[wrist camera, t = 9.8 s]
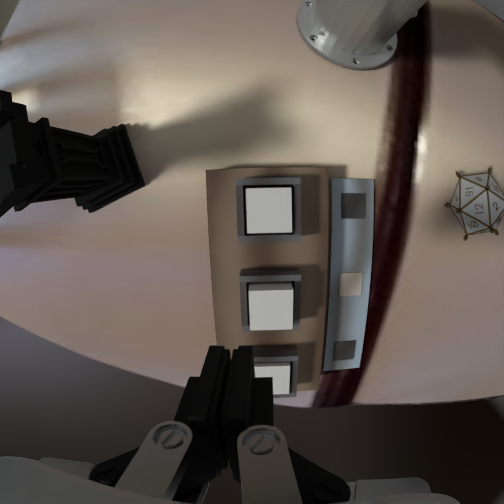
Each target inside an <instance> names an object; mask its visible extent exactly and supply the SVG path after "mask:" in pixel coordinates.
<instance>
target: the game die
mask: <svg viewBox="0 0 504 504" xmlns="http://www.w3.org/2000/svg"><path fill="white" fill-rule="evenodd" d="M491 171H492V168H491V167H490V168H488V173H482V174H474V175H467V176H461V175H460V173H459V172H457V171H456V175H457V177H459V180H458V183H457V186H456V189H455V192H454V195H453V198H452V201H451V203H450V204H449V203H446V204H445V205H444V206H446V207H450V206H451V208H452V210H453V212H454V213H455V215H456V217H457V219H458V220H459V222H460V224H461V226H462V228H463V230H464V231H465V233H466V235H465V236H464V237H463V238H464V241H465V240H467V238H468V235H472V234H478V233H485V232H491V233H493V232H494V233H495V234H496V235H498V230H496V228H497V226H498V225H499V223H500V221H501V218H502V216H503V214H504V195H503V193H502V191H501V190H500V188H499V187H498V185H497V183H496V182H495V180H494V179H493V177H492V176H491V174H490V173H491Z"/></svg>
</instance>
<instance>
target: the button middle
mask: <svg viewBox="0 0 504 504" xmlns="http://www.w3.org/2000/svg"><path fill="white" fill-rule="evenodd" d="M249 315H250V330H288V329H293V287H292V284H291V281H290V282H251V283H249Z"/></svg>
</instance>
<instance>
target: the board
mask: <svg viewBox="0 0 504 504" xmlns="http://www.w3.org/2000/svg"><path fill="white" fill-rule="evenodd" d="M206 188H207V212H208V231H209V249H210V265H211V279H212V293H213V305H214V318H215V329H216V340H217V346H224V347H225V349H229V350H230V356H231V358H232V353H233V349H238V346H240V345H253V354H254V362H279V361H290V382H289V394H273V398H280V397H296V392H297V391H307V390H319V381H320V372H321V362H322V351H323V339H324V326H325V311H326V293H327V269H328V168H326V167H269V168H237V169H217V170H206ZM247 188H291V196H292V232H287V233H247V210H246V189H247ZM373 221H374V180H369V179H338V178H331V258H330V284H329V303H328V318H327V332H326V344H325V355H324V365H323V371H328V370H339V369H349V368H358V367H359V366H360V360H361V354H362V348H363V341H364V334H365V326H366V318H367V309H368V300H369V290H370V278H371V265H372V248H373ZM290 281H291V284H292V287H293V329H288V330H250V315H249V283H251V282H290Z"/></svg>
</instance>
